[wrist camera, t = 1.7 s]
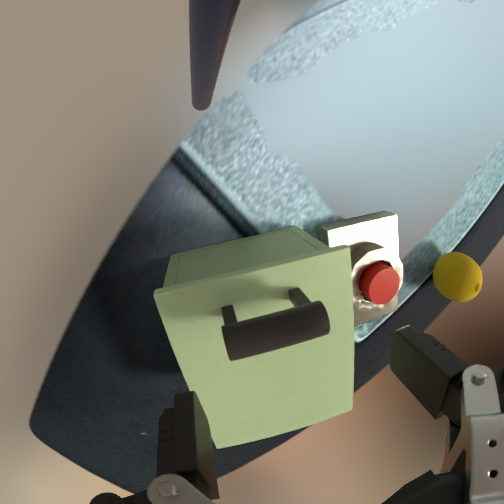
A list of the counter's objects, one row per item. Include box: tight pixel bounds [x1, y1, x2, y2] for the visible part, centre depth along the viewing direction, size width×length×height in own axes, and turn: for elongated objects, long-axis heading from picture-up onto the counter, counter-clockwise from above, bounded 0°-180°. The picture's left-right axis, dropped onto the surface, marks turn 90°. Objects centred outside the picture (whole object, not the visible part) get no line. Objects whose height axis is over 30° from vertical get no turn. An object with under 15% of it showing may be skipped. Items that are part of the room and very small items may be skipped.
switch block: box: [318, 211, 403, 326], centre depth 28 cm, size 11×8×4 cm
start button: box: [360, 263, 400, 305], centre depth 26 cm, size 4×4×2 cm
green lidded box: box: [163, 226, 330, 288], centre depth 25 cm, size 14×12×10 cm
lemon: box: [433, 252, 482, 302], centre depth 29 cm, size 6×6×8 cm
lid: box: [153, 244, 354, 449], centre depth 17 cm, size 15×12×5 cm
